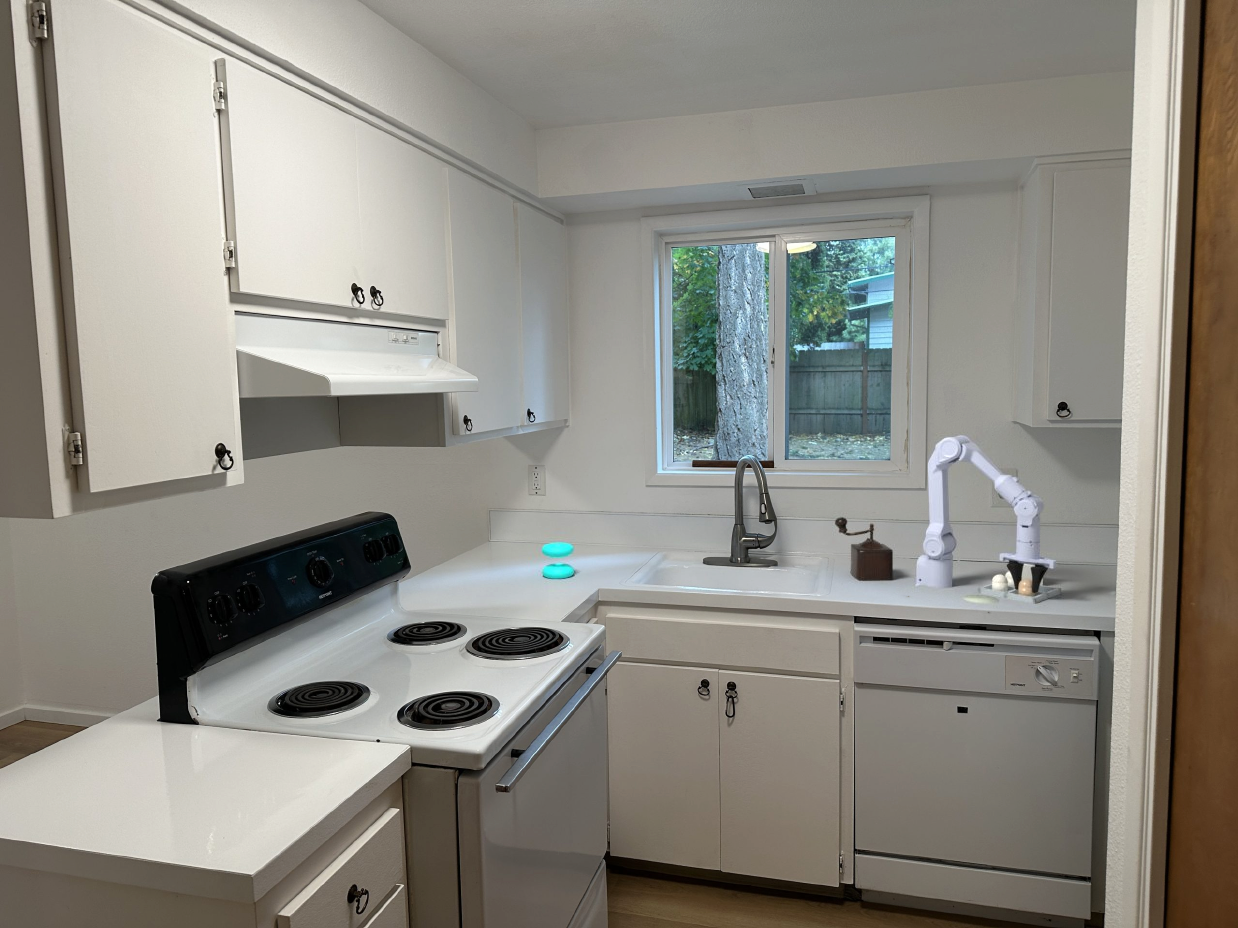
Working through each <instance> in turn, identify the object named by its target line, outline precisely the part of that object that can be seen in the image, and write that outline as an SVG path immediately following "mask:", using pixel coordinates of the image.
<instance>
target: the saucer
mask: <svg viewBox="0 0 1238 928" xmlns="http://www.w3.org/2000/svg"><path fill="white" fill-rule="evenodd" d="M962 599H963V600H965V601H967V602H970V603H976V604H996V603H999V602H1000V599H998V597H996V596H991V595H986V594H968V595H964V596H963V597H962Z"/></svg>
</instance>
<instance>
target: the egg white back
mask: <svg viewBox="0 0 1238 928" xmlns="http://www.w3.org/2000/svg"><path fill="white" fill-rule="evenodd" d="M1004 576H1005V577H1006V578H1007V580H1008V586H1012V587H1015V586H1014V582H1013V578H1012V576H1011V573H1010V571H1009V570H1007V572H1006V573H1005V575H1004Z"/></svg>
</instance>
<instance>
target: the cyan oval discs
mask: <svg viewBox="0 0 1238 928" xmlns="http://www.w3.org/2000/svg"><path fill="white" fill-rule="evenodd" d="M573 552H574V546H573V545H572V544H570V543H569V542H550V543H547V544H544V545H543V546H542V548H541V553H542V554H543V555H544V556H545V557H549V558H552V559H553V558H556V559H557V558H558V559H559V558H567V557H569V556H571V555H572V554H573ZM541 573H542V575H543V576H544V577H545V578H548V579H554V580H556V579H557V580H559V579H560V580H562V579H567V578H570V577H572V576H573V575H574V573H575V568H574V567H573V566H572V565H570V564H569V563H564V562H563V563H562V562H560V563H559V562H557V563H549V564H547V565H546V566H544V567H543V568H542V571H541Z"/></svg>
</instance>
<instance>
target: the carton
mask: <svg viewBox="0 0 1238 928" xmlns="http://www.w3.org/2000/svg"><path fill="white" fill-rule="evenodd" d="M1061 591H1062V589H1061V587H1054V586H1049V585H1044V584H1043V585H1040V586H1039V590H1038V592H1036V593H1035V597H1030V596H1024V595H1019V594H1018V590H1015V587H1012V586H1008V592H1002V591H997V590H992V583H989V584H986V585H982V586H980V587H978V590H977V593H978V594H980V595H985V596H991V597H996V598H1003V599H1008V600H1014V601H1019V602H1025V603H1029V604H1037V603H1040V602H1042V601H1044V600H1047V599H1050V598H1052V597H1055V596H1058V595H1060V594H1062V593H1061Z"/></svg>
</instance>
